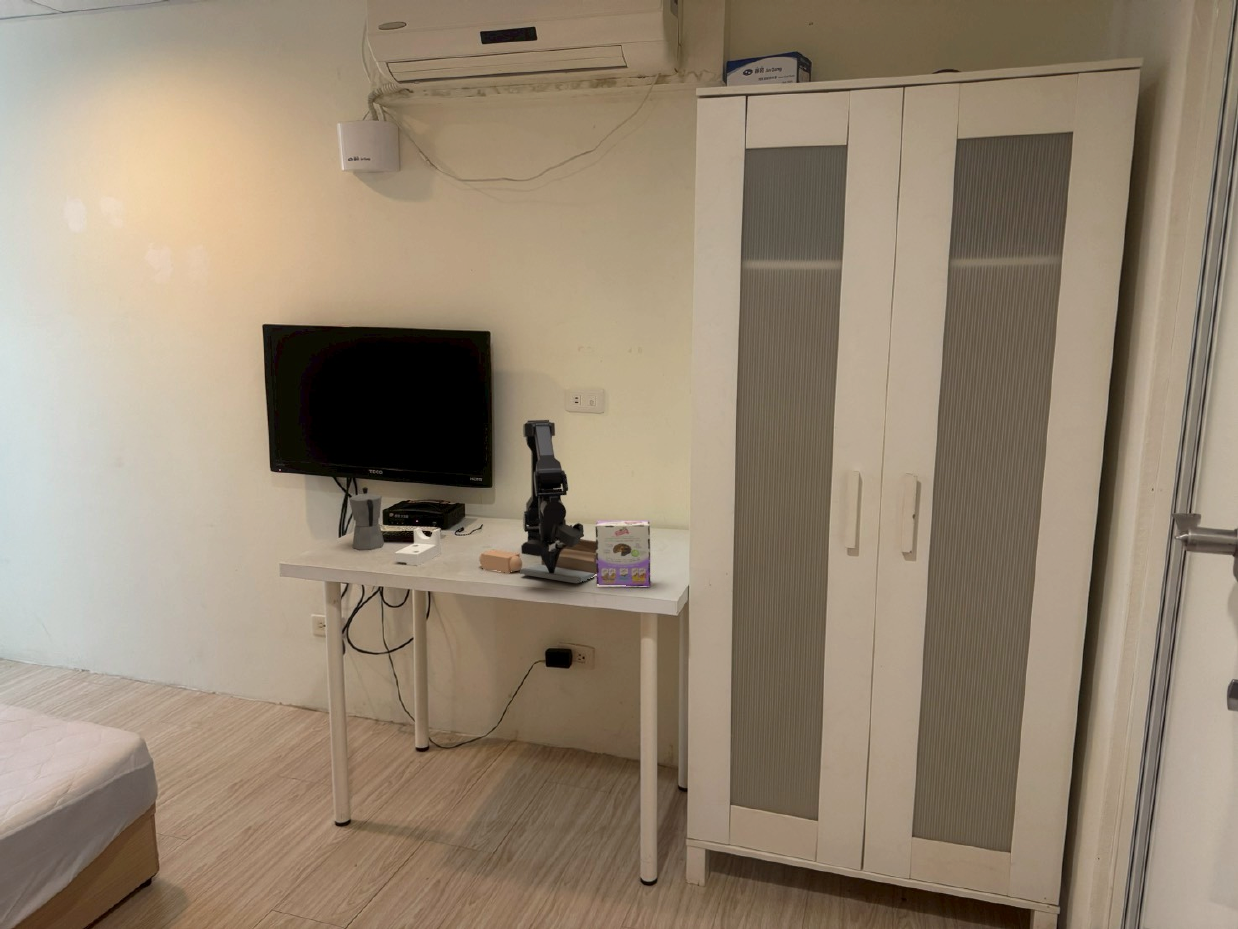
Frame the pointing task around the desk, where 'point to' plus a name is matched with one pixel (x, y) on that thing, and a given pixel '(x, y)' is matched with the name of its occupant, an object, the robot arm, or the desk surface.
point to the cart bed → (578, 557)
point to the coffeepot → (366, 521)
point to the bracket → (420, 548)
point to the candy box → (623, 553)
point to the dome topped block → (500, 561)
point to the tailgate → (557, 573)
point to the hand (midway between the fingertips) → (551, 573)
